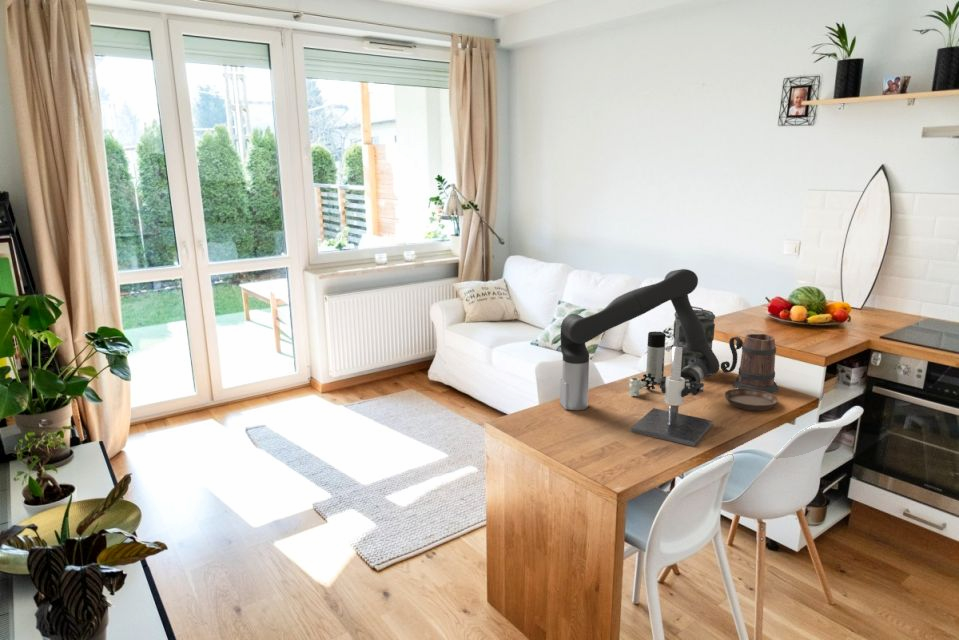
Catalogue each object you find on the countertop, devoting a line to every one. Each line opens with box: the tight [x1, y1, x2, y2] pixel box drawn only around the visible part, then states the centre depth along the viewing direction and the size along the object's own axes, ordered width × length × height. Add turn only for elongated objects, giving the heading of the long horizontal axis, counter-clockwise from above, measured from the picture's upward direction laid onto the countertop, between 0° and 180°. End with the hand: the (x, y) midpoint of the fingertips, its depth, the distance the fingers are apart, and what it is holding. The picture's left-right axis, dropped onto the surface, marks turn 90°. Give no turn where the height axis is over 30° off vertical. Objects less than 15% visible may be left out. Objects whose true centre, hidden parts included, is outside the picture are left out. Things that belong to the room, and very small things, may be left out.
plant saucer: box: [723, 388, 779, 412], centre depth 218 cm, size 18×18×3 cm
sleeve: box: [664, 375, 685, 406], centre depth 195 cm, size 5×5×8 cm
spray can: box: [645, 331, 666, 385], centre depth 241 cm, size 7×7×20 cm
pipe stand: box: [630, 345, 714, 447], centre depth 195 cm, size 20×20×28 cm
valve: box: [628, 373, 658, 397], centre depth 230 cm, size 7×7×12 cm
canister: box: [672, 305, 716, 377], centre depth 250 cm, size 16×16×28 cm
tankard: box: [720, 333, 780, 394], centre depth 237 cm, size 24×17×20 cm
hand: (672, 392), depth 194 cm, fingers closed on sleeve, 5 cm apart
